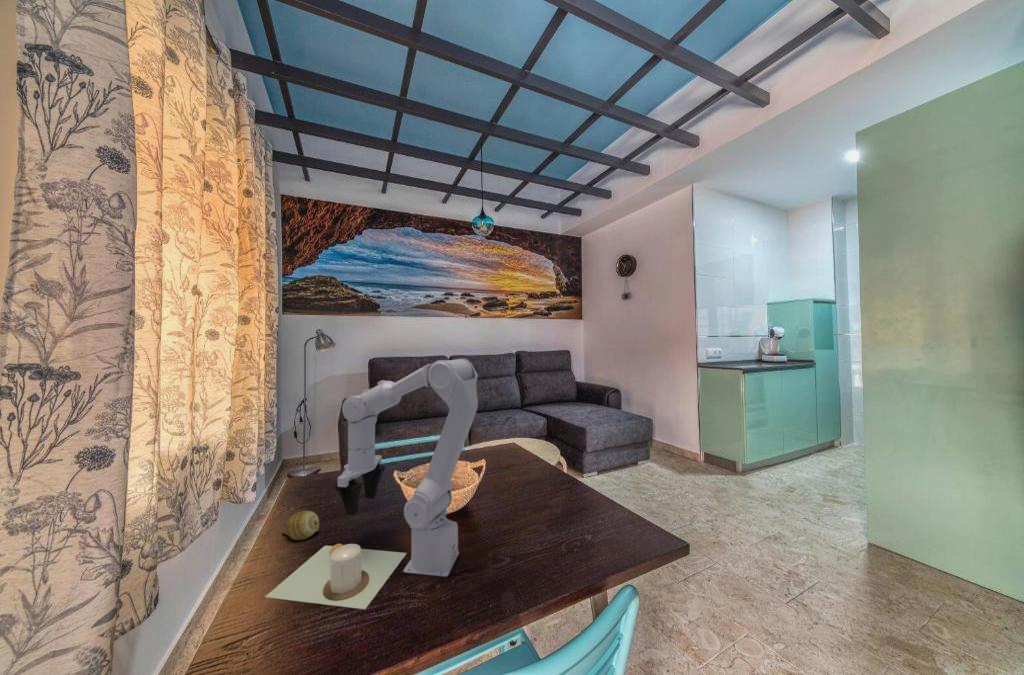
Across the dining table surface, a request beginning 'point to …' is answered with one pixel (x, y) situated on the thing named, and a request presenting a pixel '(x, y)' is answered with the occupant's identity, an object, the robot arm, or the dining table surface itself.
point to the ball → (335, 548)
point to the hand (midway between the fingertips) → (361, 505)
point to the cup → (345, 568)
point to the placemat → (316, 574)
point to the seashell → (302, 525)
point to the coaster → (348, 594)
